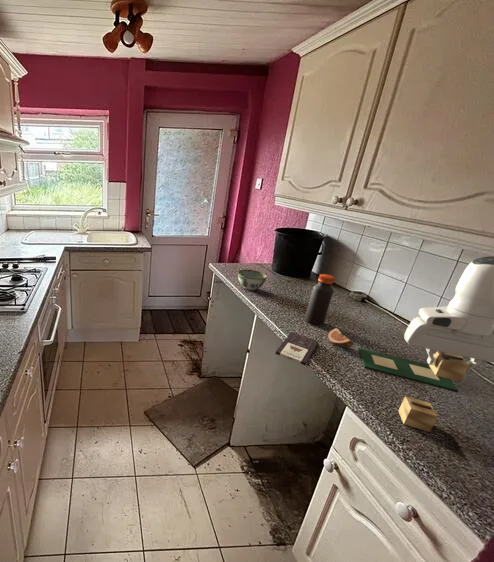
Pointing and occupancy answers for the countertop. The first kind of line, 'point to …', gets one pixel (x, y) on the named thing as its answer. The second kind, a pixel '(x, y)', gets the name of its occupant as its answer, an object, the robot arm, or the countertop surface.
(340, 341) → the fruit slice
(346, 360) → the countertop surface
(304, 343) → the chocolate bar
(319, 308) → the bottle
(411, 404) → the light wooden cube
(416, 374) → the word mat
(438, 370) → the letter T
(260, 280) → the bowl
